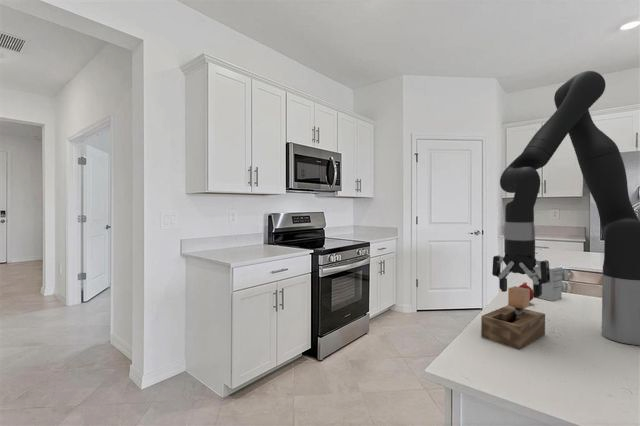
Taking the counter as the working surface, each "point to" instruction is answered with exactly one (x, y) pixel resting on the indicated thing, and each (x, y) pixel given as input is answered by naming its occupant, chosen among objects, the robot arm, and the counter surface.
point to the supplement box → (551, 283)
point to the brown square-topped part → (518, 299)
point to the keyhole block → (513, 326)
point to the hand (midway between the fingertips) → (519, 294)
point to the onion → (528, 288)
